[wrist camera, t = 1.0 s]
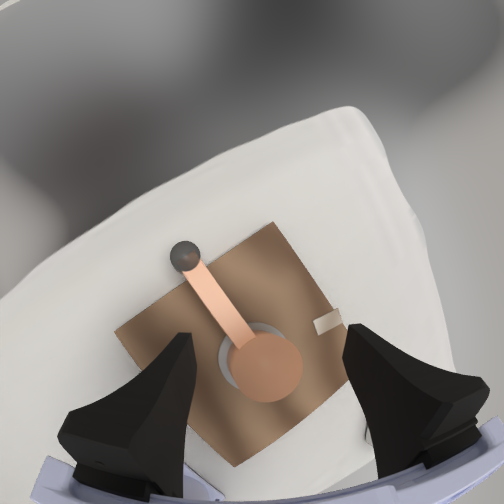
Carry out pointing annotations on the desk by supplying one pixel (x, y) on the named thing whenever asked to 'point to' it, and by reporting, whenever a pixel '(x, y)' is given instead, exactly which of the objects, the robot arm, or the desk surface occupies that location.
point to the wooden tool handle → (242, 336)
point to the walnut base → (257, 318)
